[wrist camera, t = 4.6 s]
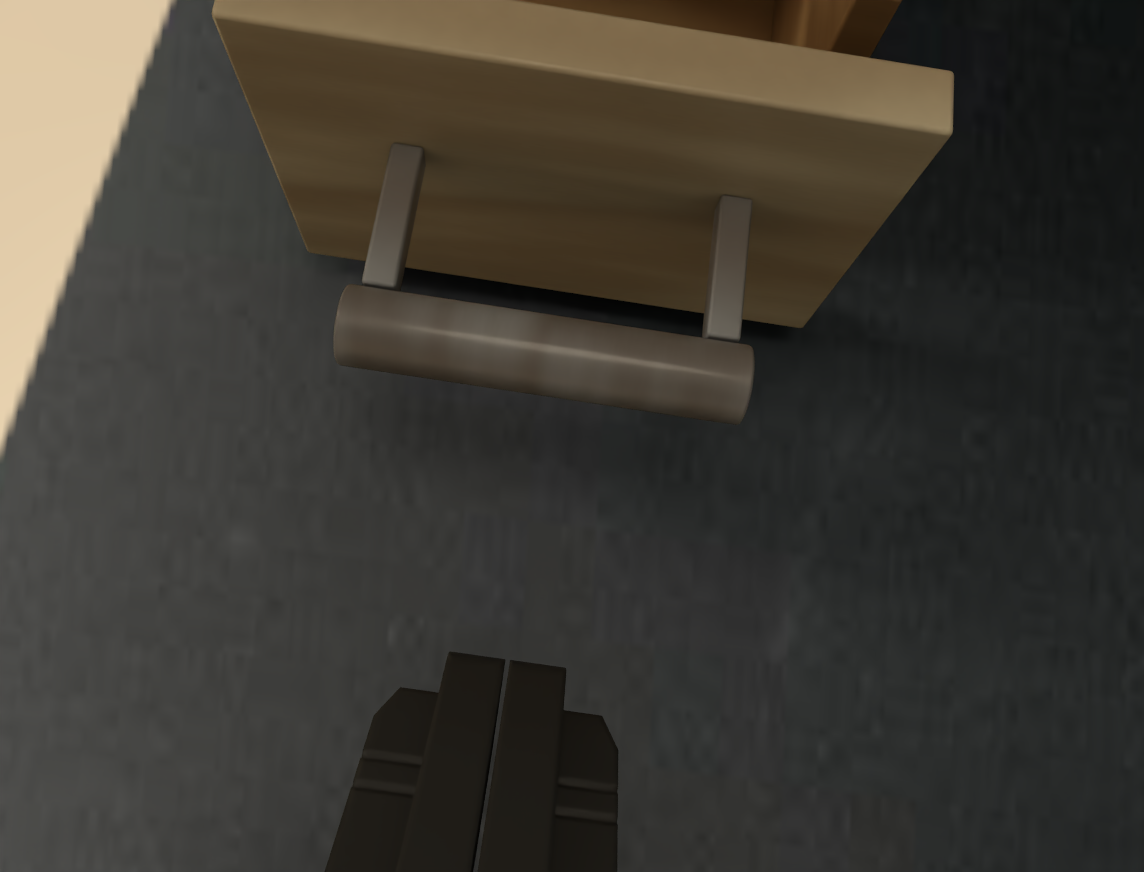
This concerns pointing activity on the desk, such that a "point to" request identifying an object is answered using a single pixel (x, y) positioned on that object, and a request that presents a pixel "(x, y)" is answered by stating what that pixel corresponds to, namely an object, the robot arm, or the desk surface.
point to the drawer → (585, 174)
